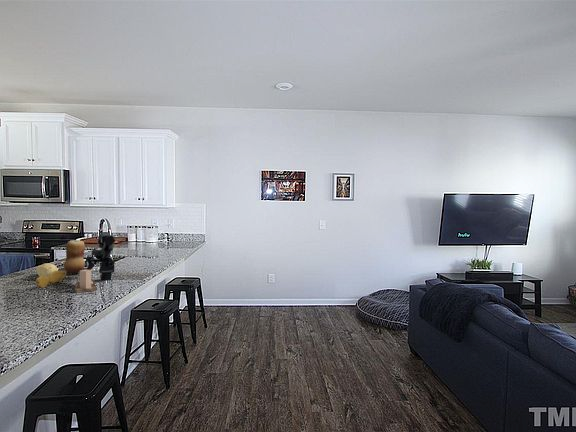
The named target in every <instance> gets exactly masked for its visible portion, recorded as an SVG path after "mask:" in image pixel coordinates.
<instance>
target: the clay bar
mask: <svg viewBox="0 0 576 432" xmlns="http://www.w3.org/2000/svg"><path fill="white" fill-rule="evenodd" d="M91 281H92V269H91V270H87V269H85V268H84V269H83V270H81V271H80V272H79V282H80V289H85V288H91Z"/></svg>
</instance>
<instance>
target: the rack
mask: <svg viewBox="0 0 576 432" xmlns="http://www.w3.org/2000/svg"><path fill="white" fill-rule="evenodd" d="M91 282H93V283H92V284H91V288H85V289H80V281H76V282H75V287H74V293H75V294H74V295H75V296H82V295H83V294H84V293H85V295H91V294H94V293H95V292H96V291H97V287H96V280H91Z"/></svg>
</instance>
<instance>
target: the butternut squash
mask: <svg viewBox="0 0 576 432" xmlns="http://www.w3.org/2000/svg"><path fill="white" fill-rule="evenodd" d="M85 248H86V247H85V242H84V241H82V240H78V239H73V240H69V241H68V242H67V244H66V248H65V255H66V257H65V258H66V259H65V261H64V264H63V267H64V268H63V269H64V271H66V272H67V273H68V274H70V275H74V274H80V271H81V270H84V269H85V266H86V262H85V259H84V255H85V251H86V250H85Z"/></svg>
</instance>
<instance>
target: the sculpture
mask: <svg viewBox="0 0 576 432" xmlns="http://www.w3.org/2000/svg"><path fill="white" fill-rule="evenodd" d="M54 271H59V269H58V267H57V266H56V265H55V264H54V263H48V262H47V263H46V262H45V263H43V264H41V265H38V266H36V274H37V275H38V278H39V277H48V276H50V275H51V274H52V273H53V272H54Z"/></svg>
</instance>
